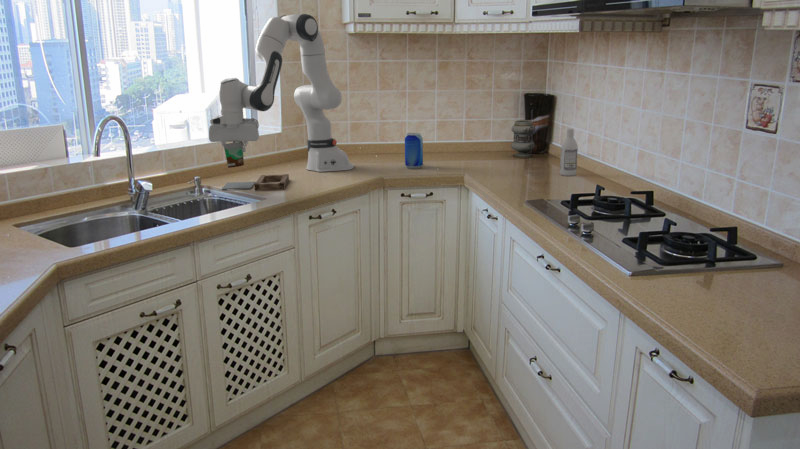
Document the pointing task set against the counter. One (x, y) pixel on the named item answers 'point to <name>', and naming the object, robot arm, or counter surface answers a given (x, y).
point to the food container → (234, 154)
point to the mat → (238, 185)
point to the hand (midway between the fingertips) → (235, 152)
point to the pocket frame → (282, 184)
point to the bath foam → (568, 155)
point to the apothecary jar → (523, 138)
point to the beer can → (413, 150)
